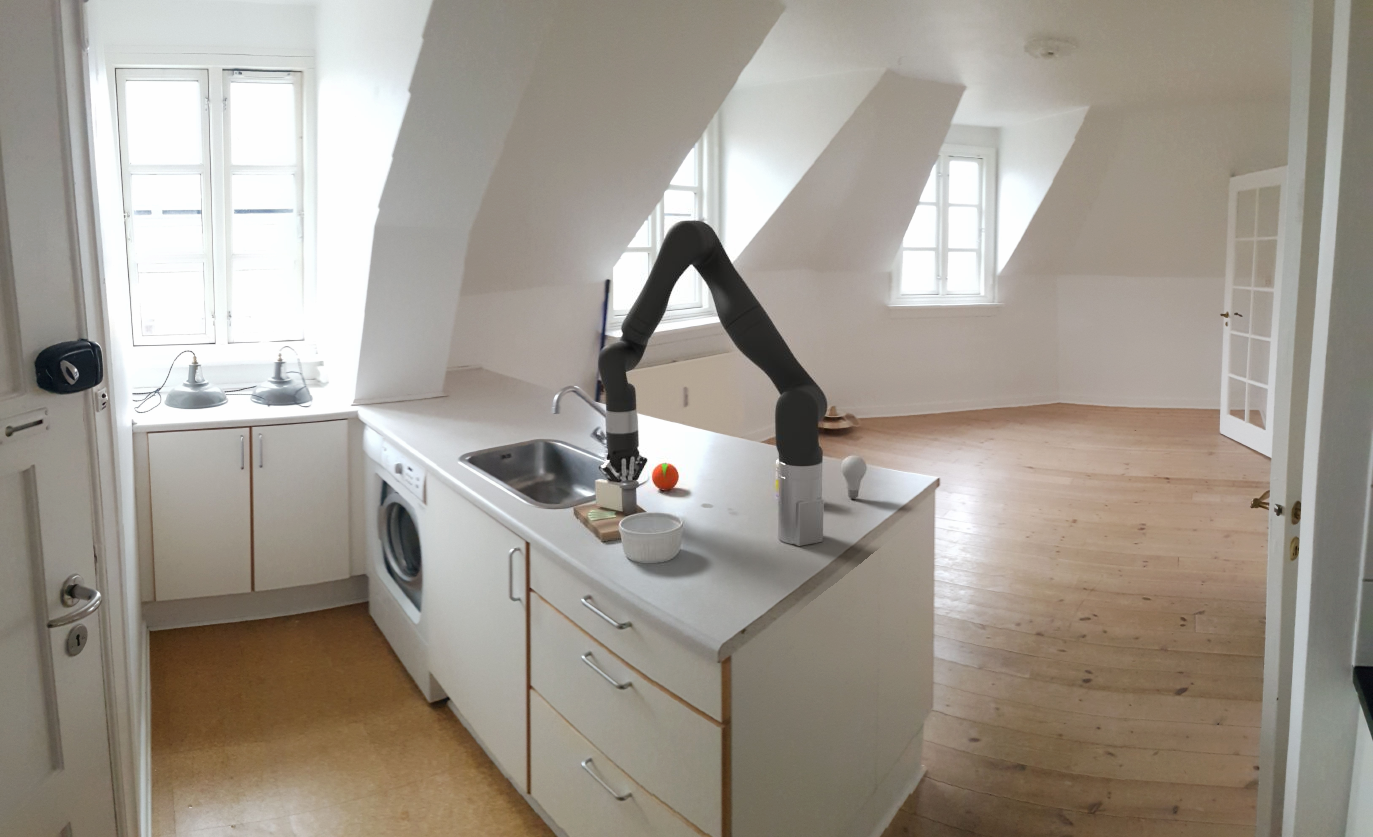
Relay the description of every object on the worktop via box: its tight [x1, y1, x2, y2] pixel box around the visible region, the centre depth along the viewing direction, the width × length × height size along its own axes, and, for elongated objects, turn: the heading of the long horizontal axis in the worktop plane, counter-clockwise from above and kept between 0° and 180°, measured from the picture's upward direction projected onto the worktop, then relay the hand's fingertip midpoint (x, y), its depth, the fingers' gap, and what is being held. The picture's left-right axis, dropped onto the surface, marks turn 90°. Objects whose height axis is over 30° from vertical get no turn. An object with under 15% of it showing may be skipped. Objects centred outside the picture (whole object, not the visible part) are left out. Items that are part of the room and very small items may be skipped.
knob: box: [594, 478, 640, 515], centre depth 198 cm, size 12×4×7 cm, turn 54°
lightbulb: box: [840, 455, 868, 500], centre depth 211 cm, size 6×6×11 cm
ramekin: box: [619, 511, 684, 564], centre depth 178 cm, size 13×13×7 cm
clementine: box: [651, 462, 680, 491], centre depth 221 cm, size 8×7×7 cm
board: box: [573, 502, 647, 543], centre depth 197 cm, size 20×14×2 cm
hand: (624, 499), depth 204 cm, fingers closed
